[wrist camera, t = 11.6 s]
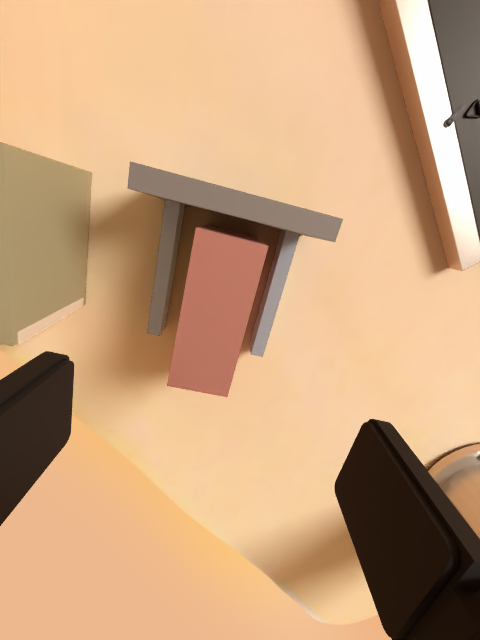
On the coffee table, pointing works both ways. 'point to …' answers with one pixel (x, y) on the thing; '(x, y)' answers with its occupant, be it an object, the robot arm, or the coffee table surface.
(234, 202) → the shelf slot
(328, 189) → the coffee table surface
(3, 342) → the olive rectangular block
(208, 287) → the reddish pink rectangular block
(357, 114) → the coffee table surface
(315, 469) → the coffee table surface
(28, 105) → the coffee table surface
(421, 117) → the picture frame
